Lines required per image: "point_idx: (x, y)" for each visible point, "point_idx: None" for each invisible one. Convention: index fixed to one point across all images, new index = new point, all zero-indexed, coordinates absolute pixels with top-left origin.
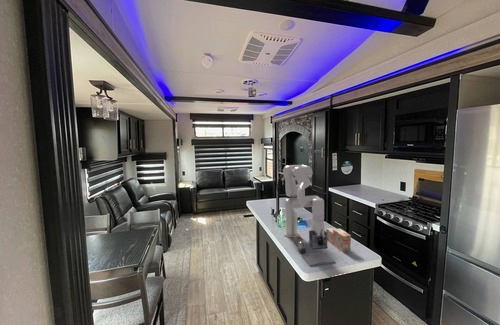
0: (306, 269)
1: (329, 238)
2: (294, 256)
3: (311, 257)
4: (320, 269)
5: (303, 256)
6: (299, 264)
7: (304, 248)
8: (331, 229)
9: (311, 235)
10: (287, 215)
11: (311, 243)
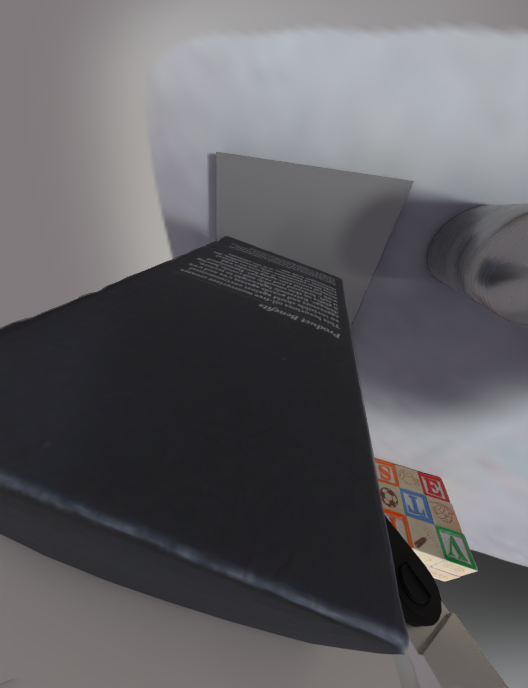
0: (185, 80)
1: (413, 489)
2: (467, 67)
3: (310, 251)
4: (174, 221)
5: (366, 182)
6: (282, 36)
7: (448, 264)
8: (434, 567)
9: (26, 353)
10: None
11: (211, 260)
